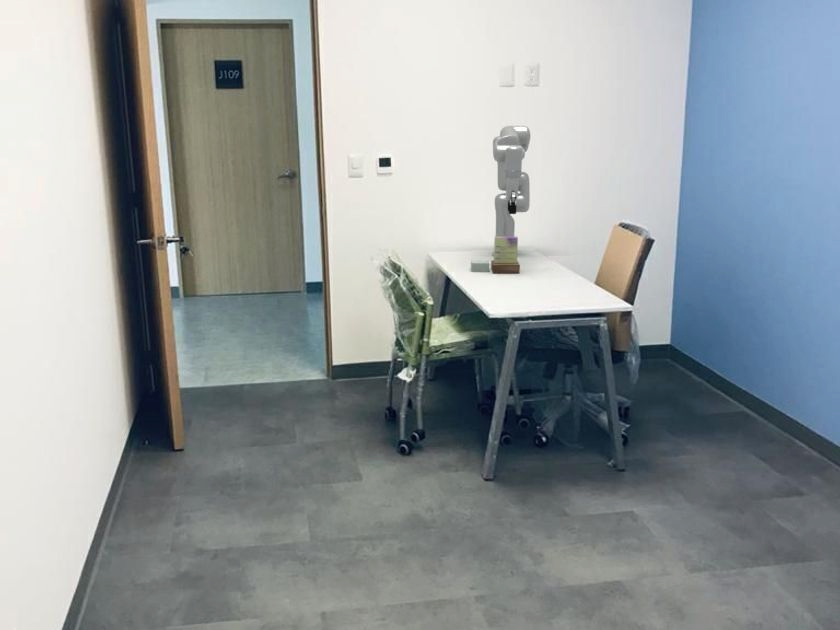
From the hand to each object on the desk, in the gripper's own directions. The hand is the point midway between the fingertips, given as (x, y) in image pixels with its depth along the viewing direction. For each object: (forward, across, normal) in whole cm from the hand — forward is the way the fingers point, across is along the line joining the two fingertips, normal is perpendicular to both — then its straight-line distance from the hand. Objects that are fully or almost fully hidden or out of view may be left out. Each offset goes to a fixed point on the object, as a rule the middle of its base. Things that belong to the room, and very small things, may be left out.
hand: (511, 212), depth 365 cm
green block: (+26, +3, -14) cm, 30 cm away
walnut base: (+26, +5, -3) cm, 27 cm away
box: (+23, +4, -2) cm, 23 cm away
